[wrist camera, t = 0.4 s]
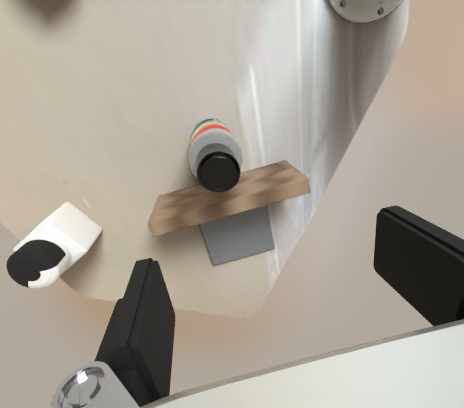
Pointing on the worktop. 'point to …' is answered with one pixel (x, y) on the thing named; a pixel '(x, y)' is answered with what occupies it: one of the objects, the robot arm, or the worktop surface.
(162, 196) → the brown wooden board
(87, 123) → the worktop surface
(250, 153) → the worktop surface
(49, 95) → the worktop surface
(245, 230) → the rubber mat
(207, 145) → the lotion bottle
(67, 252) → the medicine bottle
